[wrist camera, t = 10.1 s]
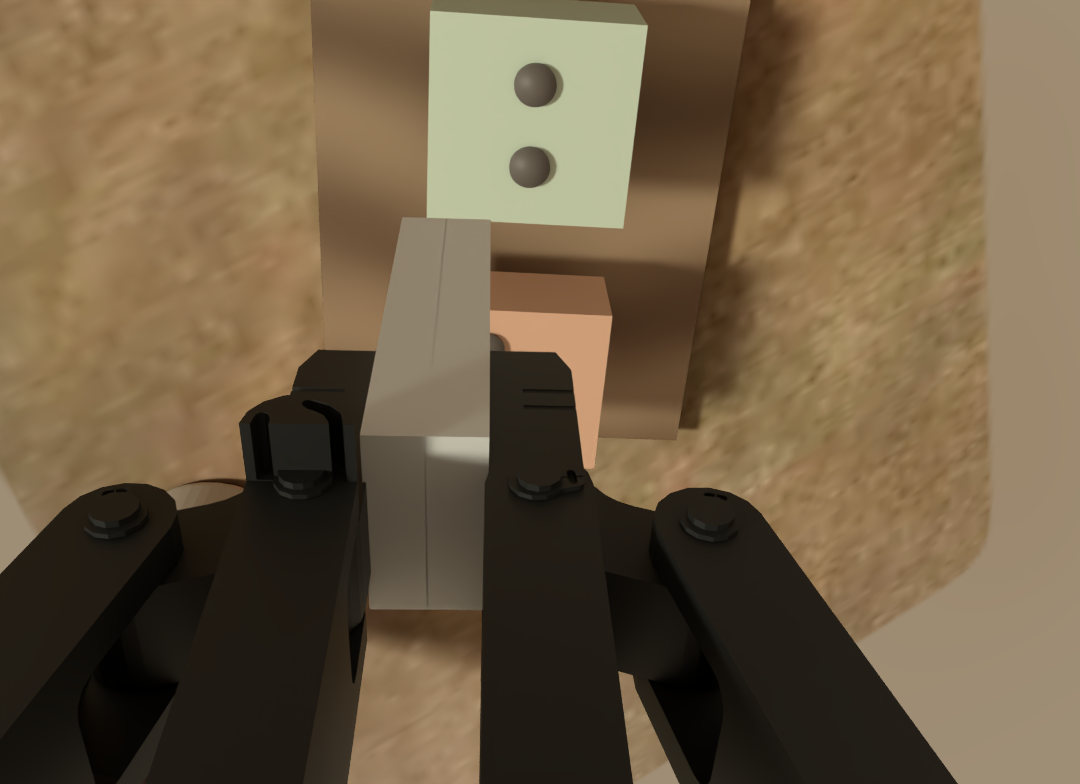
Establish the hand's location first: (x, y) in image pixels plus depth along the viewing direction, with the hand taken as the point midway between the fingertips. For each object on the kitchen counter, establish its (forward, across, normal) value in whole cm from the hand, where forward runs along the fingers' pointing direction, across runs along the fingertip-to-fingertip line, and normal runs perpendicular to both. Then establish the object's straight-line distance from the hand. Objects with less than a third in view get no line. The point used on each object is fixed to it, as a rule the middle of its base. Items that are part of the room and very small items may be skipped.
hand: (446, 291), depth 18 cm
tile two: (+16, +2, -1) cm, 16 cm away
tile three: (+16, +2, -10) cm, 19 cm away
